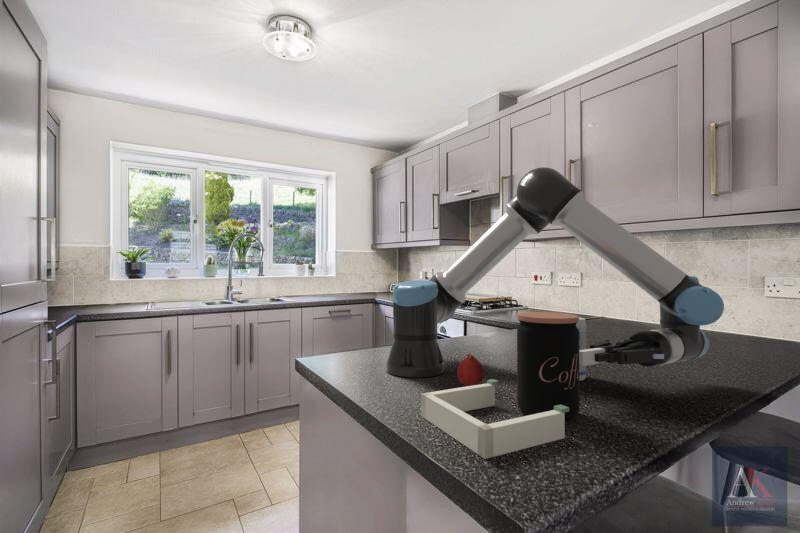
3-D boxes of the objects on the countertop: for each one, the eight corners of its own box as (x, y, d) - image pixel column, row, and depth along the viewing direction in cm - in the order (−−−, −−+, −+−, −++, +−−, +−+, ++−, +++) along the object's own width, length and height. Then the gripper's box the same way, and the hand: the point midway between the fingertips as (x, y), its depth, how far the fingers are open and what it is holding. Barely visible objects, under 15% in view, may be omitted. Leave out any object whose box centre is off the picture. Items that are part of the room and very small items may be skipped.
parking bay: (421, 415, 70) (421, 390, 70) (493, 402, 77) (493, 379, 77) (485, 459, 54) (485, 425, 54) (569, 437, 61) (569, 407, 61)
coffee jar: (540, 427, 65) (539, 319, 65) (506, 406, 75) (506, 312, 75) (593, 421, 68) (592, 317, 68) (553, 401, 78) (553, 311, 78)
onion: (463, 384, 90) (463, 349, 90) (487, 388, 87) (487, 352, 87) (453, 391, 85) (453, 354, 85) (478, 395, 82) (478, 357, 82)
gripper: (686, 371, 80) (610, 386, 69) (625, 358, 91) (552, 370, 81) (686, 334, 80) (610, 344, 70) (625, 326, 92) (552, 334, 81)
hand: (579, 358), depth 75 cm, fingers closed
